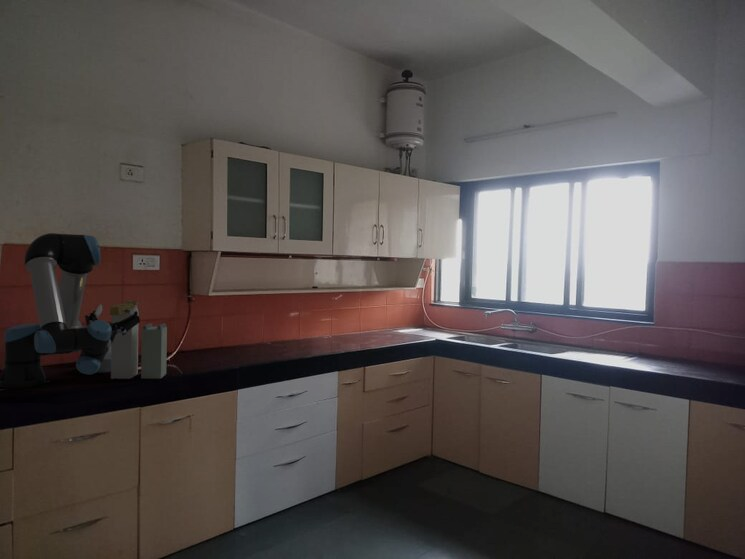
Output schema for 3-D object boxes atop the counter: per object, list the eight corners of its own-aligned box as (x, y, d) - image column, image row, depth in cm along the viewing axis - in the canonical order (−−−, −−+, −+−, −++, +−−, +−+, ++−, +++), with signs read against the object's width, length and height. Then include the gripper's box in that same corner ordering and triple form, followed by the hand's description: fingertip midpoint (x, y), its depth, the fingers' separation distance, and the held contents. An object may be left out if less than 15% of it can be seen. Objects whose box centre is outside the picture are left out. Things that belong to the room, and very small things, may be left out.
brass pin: (108, 316, 201) (108, 305, 201) (127, 310, 223) (127, 300, 223) (120, 316, 201) (120, 305, 201) (137, 310, 224) (137, 300, 224)
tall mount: (110, 378, 210) (111, 309, 209) (118, 373, 219) (119, 307, 218) (131, 378, 212) (132, 309, 211) (137, 373, 220) (138, 307, 219)
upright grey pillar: (141, 378, 212) (141, 325, 211) (147, 373, 221) (148, 323, 220) (160, 378, 213) (161, 326, 213) (166, 373, 222) (167, 323, 222)
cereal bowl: (119, 365, 236) (119, 350, 236) (129, 372, 223) (130, 356, 223) (78, 369, 225) (78, 354, 224) (86, 377, 212) (87, 360, 212)
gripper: (67, 347, 188) (88, 314, 206) (137, 348, 192) (152, 315, 209) (63, 332, 184) (84, 299, 202) (134, 333, 188) (149, 300, 205)
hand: (118, 307), depth 205 cm, fingers open, 13 cm apart
